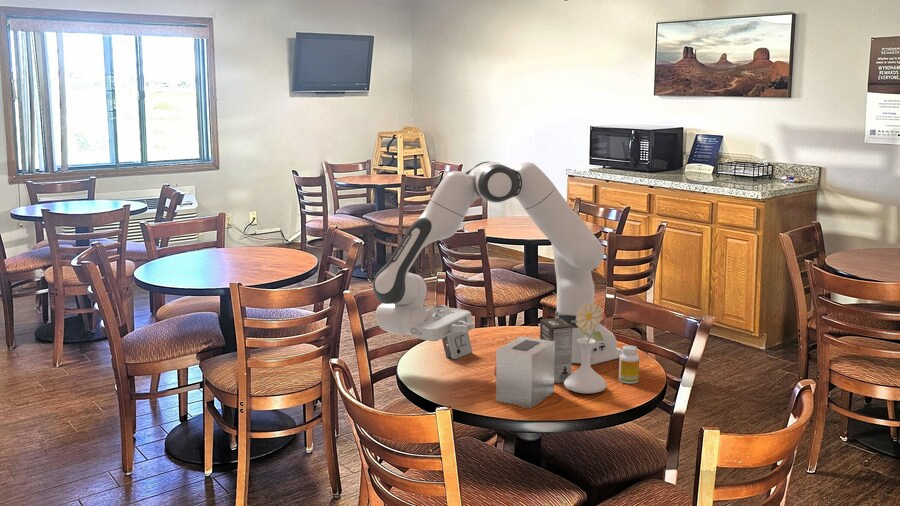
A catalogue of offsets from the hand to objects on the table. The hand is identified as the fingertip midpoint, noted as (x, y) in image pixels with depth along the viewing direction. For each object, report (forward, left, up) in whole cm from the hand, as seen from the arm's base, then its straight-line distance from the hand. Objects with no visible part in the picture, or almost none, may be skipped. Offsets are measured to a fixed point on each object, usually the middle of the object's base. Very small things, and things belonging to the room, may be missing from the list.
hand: (469, 328), depth 229 cm
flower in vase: (-25, +20, -16) cm, 36 cm away
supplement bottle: (-40, +18, -16) cm, 47 cm away
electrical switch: (-6, -23, -16) cm, 29 cm away
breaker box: (-8, +17, -15) cm, 24 cm away
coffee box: (-23, +7, -16) cm, 29 cm away
